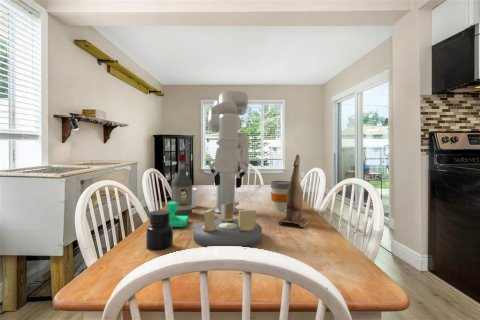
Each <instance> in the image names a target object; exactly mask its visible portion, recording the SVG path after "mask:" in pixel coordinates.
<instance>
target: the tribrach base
mask: <svg viewBox="0 0 480 320" xmlns="http://www.w3.org/2000/svg"><path fill="white" fill-rule="evenodd" d="M203 215H204V216H203V217H204V221H200V222H199V223H198V222H197V223H196V224H195V225H194V226H193V241H194V243H195V244H197V245H199V246H201V247H204V248H207V246H242V247H249V248H252V247H254V246H257V245H258V244H260V243H261V242H262V239H263V238H262V237H263V236H262V233H263V231H262V229H263V227H262V225H260V224H259V223H257V222H256V209H239V210H238V218H233V222H229V223H225V222H222V221H221V218H215V212H214V208H209V209H207V210H205V211H204V214H203Z"/></svg>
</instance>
